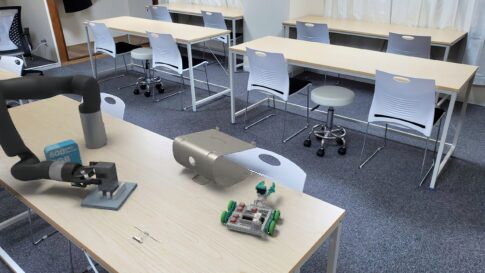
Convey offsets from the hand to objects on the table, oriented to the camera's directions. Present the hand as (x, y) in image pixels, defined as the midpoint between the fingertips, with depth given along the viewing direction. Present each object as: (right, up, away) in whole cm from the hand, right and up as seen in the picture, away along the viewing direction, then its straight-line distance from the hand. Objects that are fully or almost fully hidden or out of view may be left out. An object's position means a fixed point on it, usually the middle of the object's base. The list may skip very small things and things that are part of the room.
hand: (107, 175), depth 135 cm
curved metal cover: (+38, -1, +19) cm, 42 cm away
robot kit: (+53, -13, -6) cm, 55 cm away
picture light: (+17, -18, -17) cm, 30 cm away
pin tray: (0, -8, +4) cm, 9 cm away
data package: (-24, 0, +20) cm, 32 cm away
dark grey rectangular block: (0, -7, +3) cm, 7 cm away
